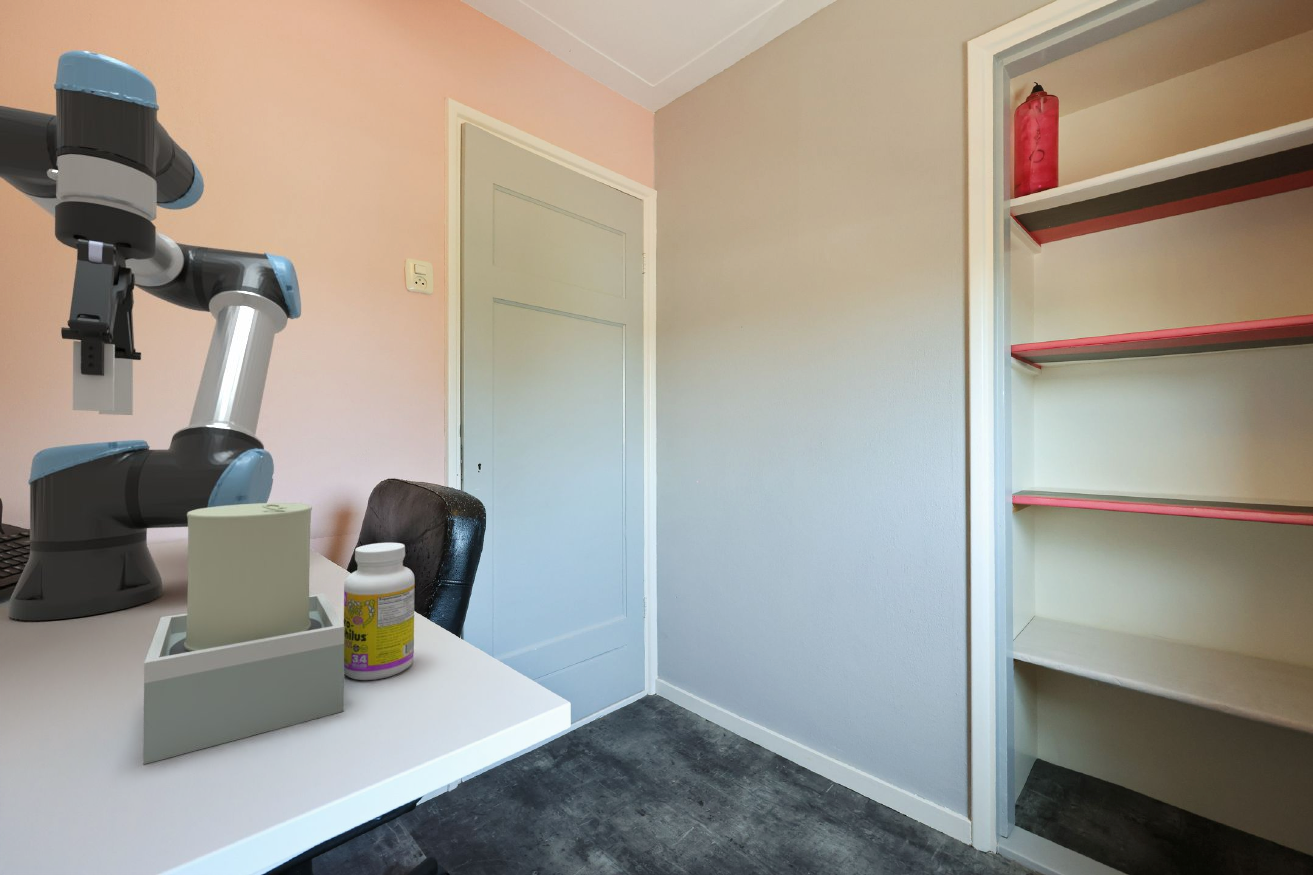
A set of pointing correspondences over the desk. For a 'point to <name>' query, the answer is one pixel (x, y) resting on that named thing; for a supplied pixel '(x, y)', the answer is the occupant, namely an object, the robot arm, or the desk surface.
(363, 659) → the supplement bottle
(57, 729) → the desk surface
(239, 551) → the can
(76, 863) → the desk surface
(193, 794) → the desk surface
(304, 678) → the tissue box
